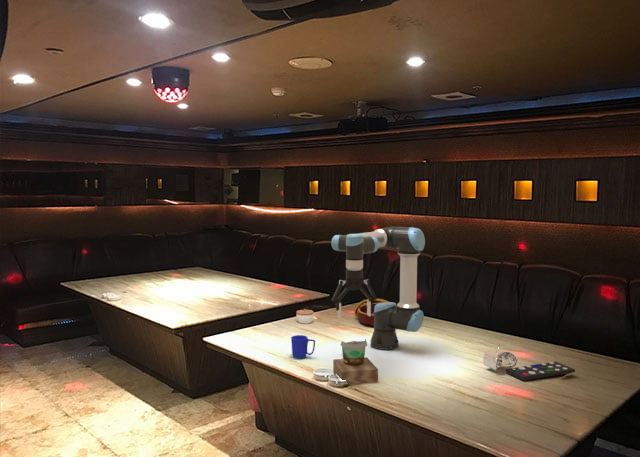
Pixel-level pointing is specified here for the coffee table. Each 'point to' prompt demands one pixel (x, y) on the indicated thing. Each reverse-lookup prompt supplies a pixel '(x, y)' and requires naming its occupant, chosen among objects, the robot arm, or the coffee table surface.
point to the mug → (300, 346)
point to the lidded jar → (305, 316)
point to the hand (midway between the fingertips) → (354, 316)
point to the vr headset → (499, 359)
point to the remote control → (539, 370)
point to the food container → (353, 352)
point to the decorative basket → (361, 312)
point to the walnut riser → (356, 372)
